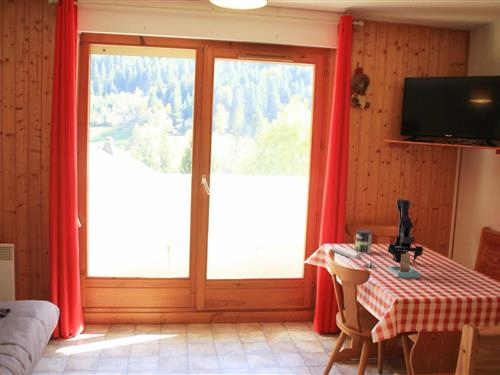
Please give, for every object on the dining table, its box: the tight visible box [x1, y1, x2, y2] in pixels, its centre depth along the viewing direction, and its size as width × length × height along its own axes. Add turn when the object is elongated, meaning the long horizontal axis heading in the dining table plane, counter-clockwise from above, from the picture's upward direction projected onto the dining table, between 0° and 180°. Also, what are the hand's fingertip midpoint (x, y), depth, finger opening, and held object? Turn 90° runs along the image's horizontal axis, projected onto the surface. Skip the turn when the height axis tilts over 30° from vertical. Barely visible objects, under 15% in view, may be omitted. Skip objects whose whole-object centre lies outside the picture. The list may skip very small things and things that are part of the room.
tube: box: [331, 243, 362, 260], centre depth 324 cm, size 5×5×25 cm
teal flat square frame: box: [388, 265, 421, 279], centre depth 287 cm, size 13×13×3 cm
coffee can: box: [354, 229, 373, 255], centre depth 337 cm, size 10×10×14 cm
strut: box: [399, 253, 411, 273], centre depth 286 cm, size 4×4×11 cm
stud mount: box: [362, 261, 379, 270], centre depth 295 cm, size 7×7×4 cm
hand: (405, 262), depth 285 cm, fingers open, 9 cm apart
